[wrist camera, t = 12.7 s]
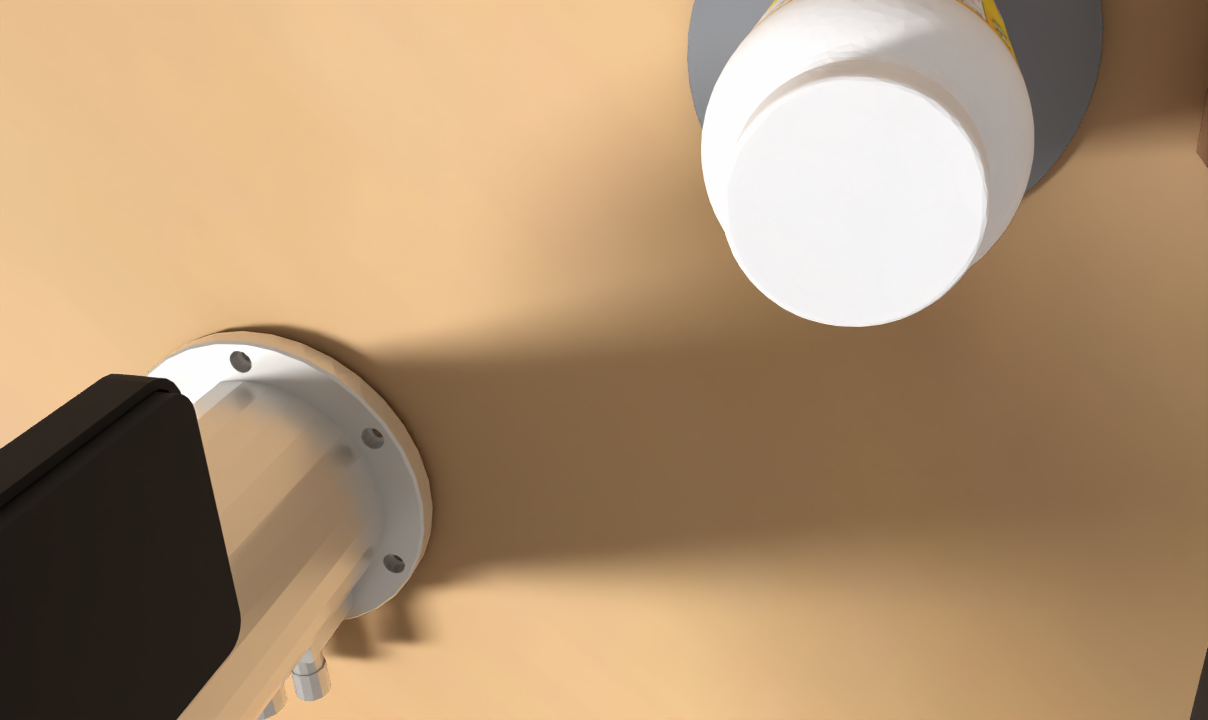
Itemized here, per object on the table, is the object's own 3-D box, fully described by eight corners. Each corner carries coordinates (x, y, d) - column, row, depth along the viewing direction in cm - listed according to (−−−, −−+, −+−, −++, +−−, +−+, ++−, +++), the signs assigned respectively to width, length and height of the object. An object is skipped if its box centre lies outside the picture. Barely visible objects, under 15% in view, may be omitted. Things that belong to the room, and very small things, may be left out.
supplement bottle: (945, 210, 32) (950, 431, 21) (728, 134, 33) (622, 308, 22) (1053, -22, 29) (1126, 94, 18) (808, -103, 30) (731, -39, 18)
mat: (1072, 246, 32) (1074, 253, 32) (695, 233, 35) (692, 240, 35) (1128, -178, 28) (1132, -177, 27) (686, -153, 30) (682, -152, 30)
